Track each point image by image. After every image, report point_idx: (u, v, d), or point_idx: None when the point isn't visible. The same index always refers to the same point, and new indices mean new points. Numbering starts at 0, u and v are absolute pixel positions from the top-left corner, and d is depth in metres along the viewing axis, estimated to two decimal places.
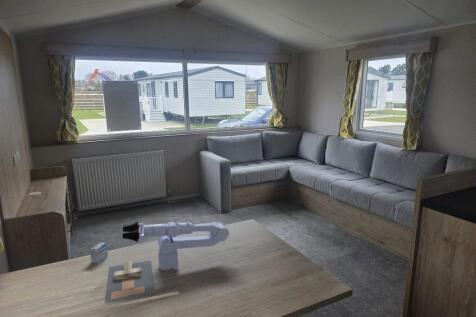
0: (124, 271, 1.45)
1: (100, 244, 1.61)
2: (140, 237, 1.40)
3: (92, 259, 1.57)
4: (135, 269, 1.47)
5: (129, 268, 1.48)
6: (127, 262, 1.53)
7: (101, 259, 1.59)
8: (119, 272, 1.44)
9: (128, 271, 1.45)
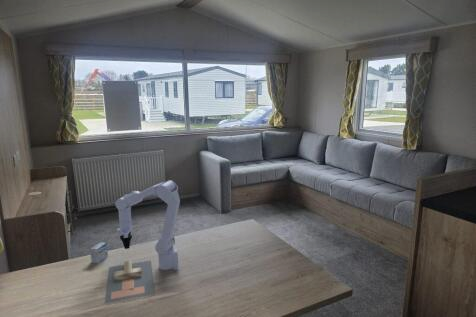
0: (124, 271, 1.45)
1: (100, 244, 1.61)
2: (125, 236, 1.50)
3: (92, 259, 1.57)
4: (135, 269, 1.47)
5: (129, 268, 1.48)
6: (127, 262, 1.53)
7: (101, 259, 1.59)
8: (119, 272, 1.44)
9: (128, 271, 1.45)
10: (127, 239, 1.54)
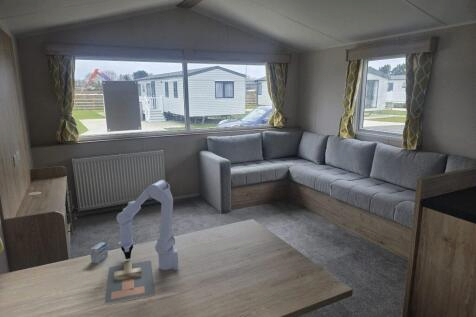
0: (124, 271, 1.45)
1: (100, 244, 1.61)
2: (126, 251, 1.52)
3: (92, 259, 1.57)
4: (135, 269, 1.47)
5: (129, 268, 1.48)
6: (127, 262, 1.53)
7: (101, 259, 1.59)
8: (119, 272, 1.44)
9: (128, 271, 1.45)
10: (128, 250, 1.58)
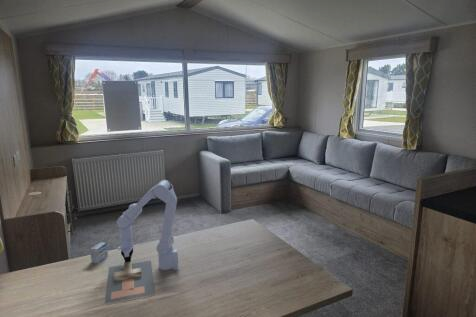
0: (123, 271, 1.45)
1: (100, 244, 1.61)
2: (126, 256, 1.47)
3: (92, 259, 1.57)
4: (135, 269, 1.46)
5: (129, 268, 1.47)
6: (127, 263, 1.52)
7: (101, 259, 1.59)
8: (119, 273, 1.44)
9: (128, 271, 1.45)
10: (128, 254, 1.54)
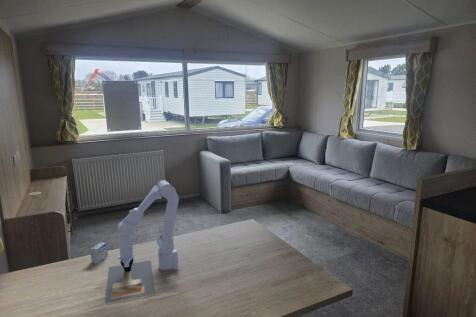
0: (122, 283, 1.36)
1: (100, 244, 1.61)
2: (126, 266, 1.38)
3: (92, 259, 1.57)
4: (135, 281, 1.37)
5: (128, 279, 1.38)
6: (127, 273, 1.43)
7: (101, 259, 1.59)
8: (118, 284, 1.35)
9: (127, 283, 1.36)
10: None
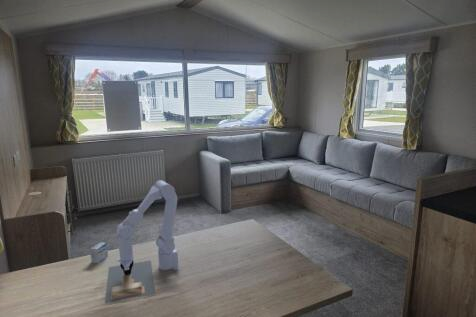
0: (122, 286, 1.34)
1: (100, 244, 1.61)
2: (126, 269, 1.35)
3: (92, 259, 1.57)
4: (135, 284, 1.35)
5: (129, 283, 1.36)
6: (127, 276, 1.41)
7: (101, 259, 1.59)
8: (117, 288, 1.32)
9: (127, 286, 1.33)
10: None
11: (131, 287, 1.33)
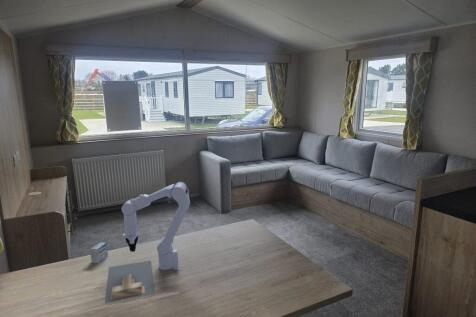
0: (122, 286, 1.34)
1: (100, 244, 1.61)
2: (131, 242, 1.44)
3: (92, 259, 1.57)
4: (135, 284, 1.35)
5: (129, 282, 1.36)
6: (127, 276, 1.41)
7: (101, 259, 1.59)
8: (117, 288, 1.32)
9: (127, 286, 1.33)
10: None
11: (131, 287, 1.33)
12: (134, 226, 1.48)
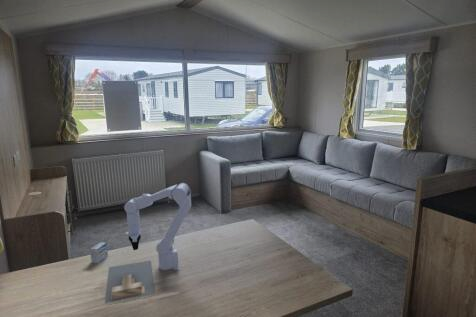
0: (122, 286, 1.34)
1: (100, 244, 1.61)
2: (134, 241, 1.46)
3: (92, 259, 1.57)
4: (135, 284, 1.35)
5: (129, 282, 1.36)
6: (127, 276, 1.41)
7: (101, 259, 1.59)
8: (117, 288, 1.32)
9: (127, 286, 1.33)
10: None
11: (131, 287, 1.33)
12: (137, 224, 1.50)
